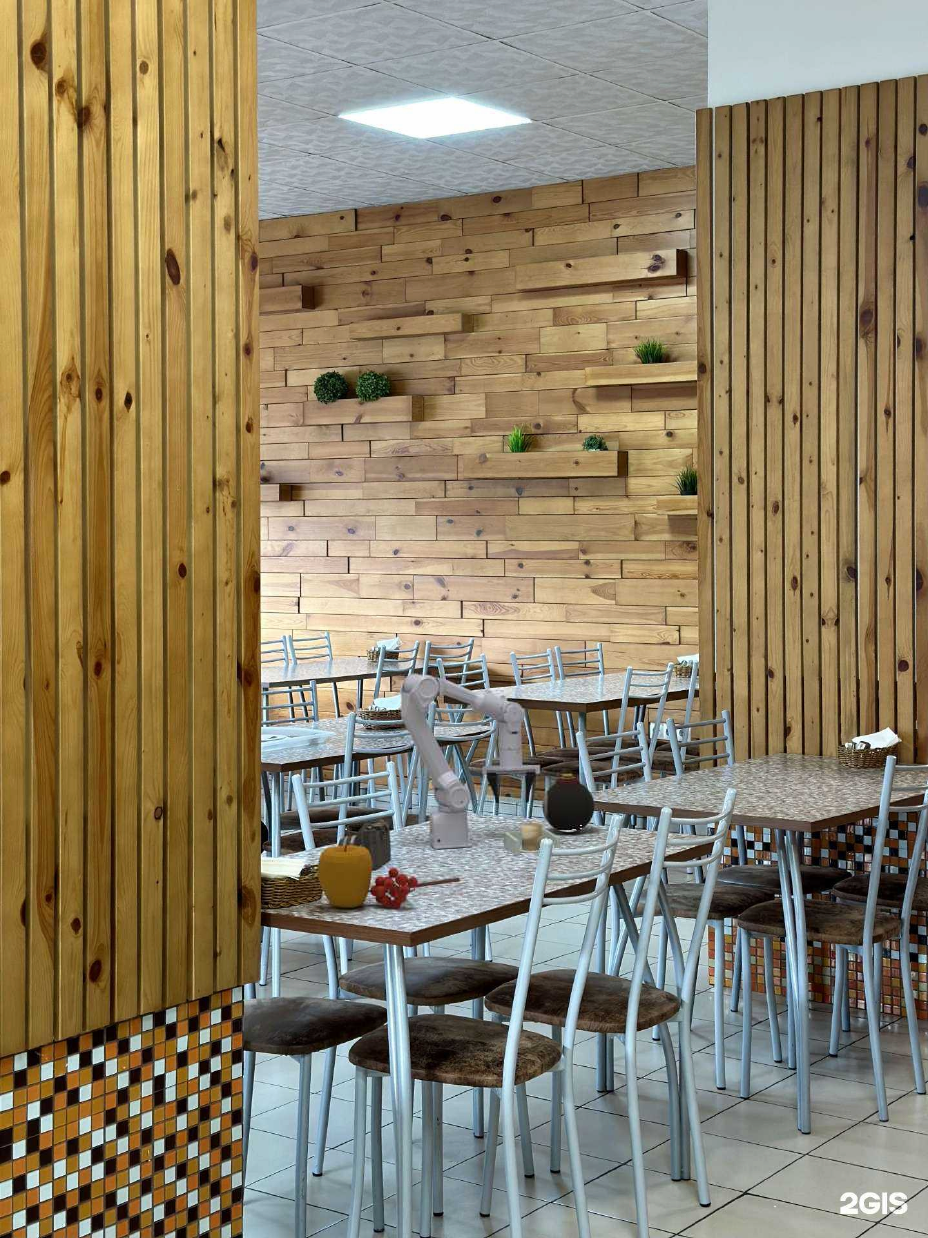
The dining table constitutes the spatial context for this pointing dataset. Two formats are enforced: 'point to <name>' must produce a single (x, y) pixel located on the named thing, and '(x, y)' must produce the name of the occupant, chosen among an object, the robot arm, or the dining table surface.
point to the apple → (345, 875)
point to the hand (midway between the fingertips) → (512, 802)
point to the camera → (372, 842)
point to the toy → (568, 804)
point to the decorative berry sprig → (398, 888)
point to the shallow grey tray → (515, 840)
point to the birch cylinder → (531, 836)
